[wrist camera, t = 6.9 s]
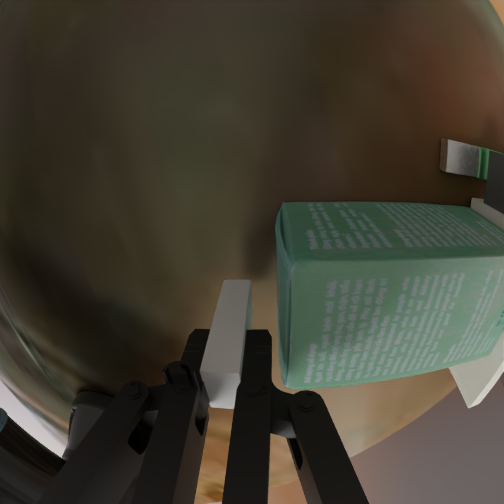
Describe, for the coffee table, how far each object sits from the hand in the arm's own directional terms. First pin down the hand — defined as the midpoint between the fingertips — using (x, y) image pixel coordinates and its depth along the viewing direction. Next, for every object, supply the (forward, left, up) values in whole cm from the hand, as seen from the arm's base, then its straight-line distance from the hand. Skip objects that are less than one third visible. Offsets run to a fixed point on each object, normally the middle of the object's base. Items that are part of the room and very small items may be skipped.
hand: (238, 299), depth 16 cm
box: (+9, +2, -2) cm, 9 cm away
